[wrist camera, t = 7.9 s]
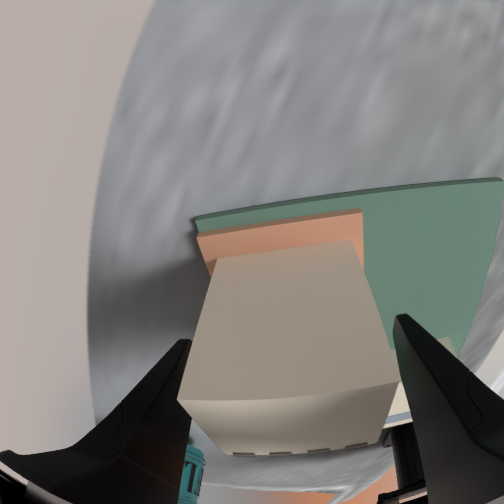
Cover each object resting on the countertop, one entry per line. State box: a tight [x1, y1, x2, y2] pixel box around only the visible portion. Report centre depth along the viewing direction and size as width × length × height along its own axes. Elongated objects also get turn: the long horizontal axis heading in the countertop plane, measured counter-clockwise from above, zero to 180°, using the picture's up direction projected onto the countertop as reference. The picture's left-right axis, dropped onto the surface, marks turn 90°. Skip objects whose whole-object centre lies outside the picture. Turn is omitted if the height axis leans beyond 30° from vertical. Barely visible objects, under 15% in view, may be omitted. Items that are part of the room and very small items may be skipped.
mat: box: [195, 178, 504, 357], centre depth 14 cm, size 16×13×1 cm
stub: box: [177, 239, 399, 457], centre depth 9 cm, size 4×5×6 cm
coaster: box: [197, 208, 364, 278], centre depth 12 cm, size 6×6×1 cm
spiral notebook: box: [383, 337, 458, 428], centre depth 14 cm, size 6×5×2 cm
